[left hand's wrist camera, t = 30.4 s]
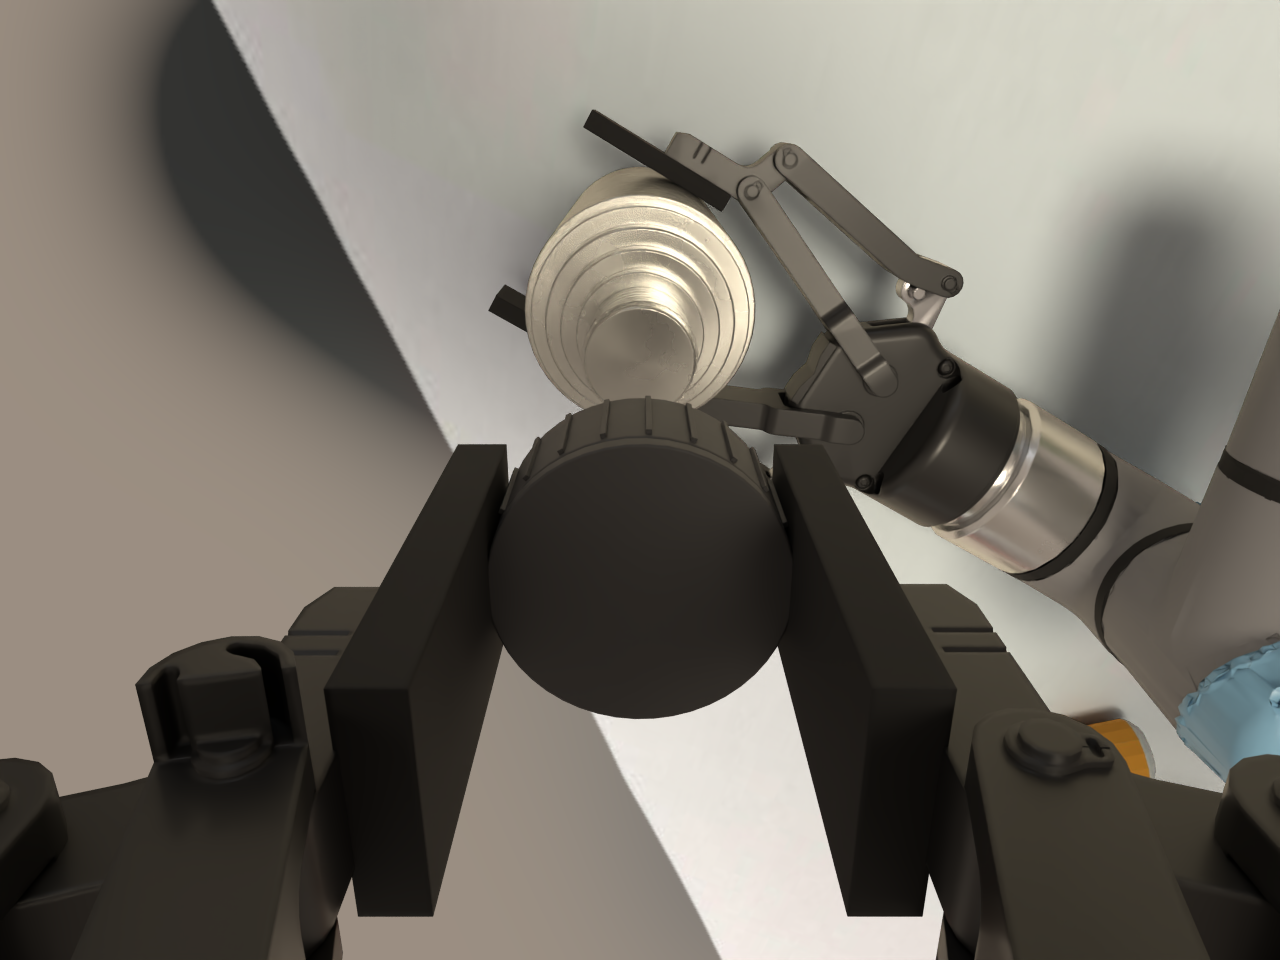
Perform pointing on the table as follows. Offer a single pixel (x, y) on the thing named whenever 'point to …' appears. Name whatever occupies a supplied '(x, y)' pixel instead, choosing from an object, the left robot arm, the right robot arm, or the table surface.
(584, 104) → the table surface
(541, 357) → the bottle
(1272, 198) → the table surface
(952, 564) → the table surface
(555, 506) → the cap
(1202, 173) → the table surface
